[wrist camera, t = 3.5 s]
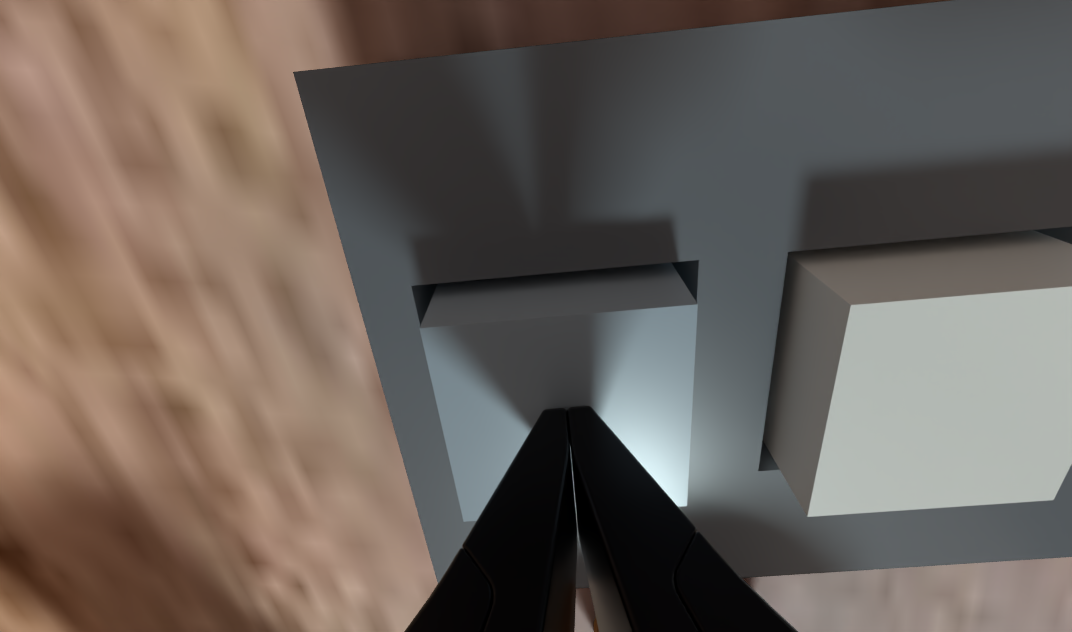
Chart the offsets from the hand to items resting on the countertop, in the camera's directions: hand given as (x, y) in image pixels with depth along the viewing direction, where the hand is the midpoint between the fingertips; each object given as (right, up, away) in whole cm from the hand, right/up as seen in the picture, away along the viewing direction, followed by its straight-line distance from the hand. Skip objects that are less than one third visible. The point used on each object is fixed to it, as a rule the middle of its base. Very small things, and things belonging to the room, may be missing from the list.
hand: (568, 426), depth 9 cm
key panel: (+6, +3, +5) cm, 9 cm away
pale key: (+6, +2, +3) cm, 7 cm away
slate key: (0, +2, +4) cm, 4 cm away
